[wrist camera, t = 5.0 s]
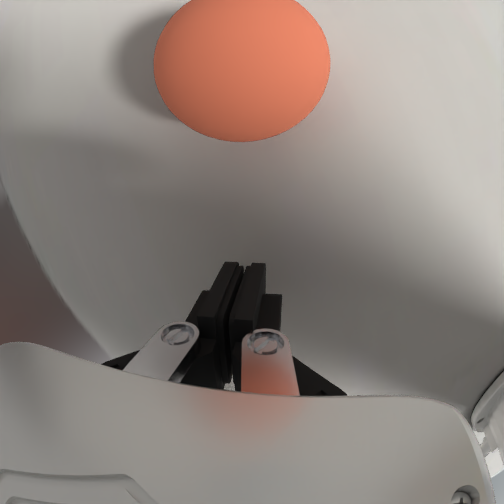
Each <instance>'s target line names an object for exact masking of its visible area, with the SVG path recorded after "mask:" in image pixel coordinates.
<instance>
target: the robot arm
mask: <svg viewBox="0 0 504 504" xmlns="http://www.w3.org/2000/svg"><path fill="white" fill-rule="evenodd" d="M265 289H266V265H265V263H252V264H251V266H247V267H246V270H245V272H244V268H243V266H239V263H238V262H224V264H223V266H222V268H221V270H220V272H219V274H218V276H217V277H216V279H215V281H214V283H213V285H212V287H211V289H210V291H208V290H203V291H202V293H201V294H200V296H199V298H198V300H197V301H196V303H195V305H194V307H193V309H192V310H191V312H190V314H189V316H188V317H187V319H186V321H185V322H183V321H178V322H172V323H168V324H166V325H164V326H163V327H161V328H160V329H159V330H158V331H157V332H156V333H155V334H154V336H153V337H152V338H151V339H150V340H149V341H148V342H147V343H146V344H145V346H144V347H143V348H142V349H141V350H138V351H136V352H133V353H130V354H127V355H124V356H121V357H118V358H116V359H113V360H110V361H107V362H105V363H103V364H98V363H94V362H91V361H88V360H84V359H81V358H78V357H75V356H72V355H69V354H66V353H63V352H60V351H57V350H54V349H51V348H48V347H45V346H41V345H37V344H33V343H26V342H13V343H12V342H11V343H6V344H3V345H1V346H0V504H496V501H495V496H494V491H493V486H492V482H491V478H490V474H489V470H488V467H487V464H486V461H485V457H486V456H487V455H488V454H489V452H490V451H491V452H492V453H493V452H495V451H498V450H499V453H500V455H501V458H502V461H503V464H504V371H503V372H502V373H501V375H500V376H499V377H498V378H497V379H496V380H495V381H494V382H493V384H492V385H491V386H490V387H489V388H488V390H487V391H486V392H485V394H484V395H483V396H482V397H481V399H480V401H479V402H478V404H477V405H476V407H475V409H474V411H473V413H472V416H471V424H472V426H473V428H474V430H475V431H477V432H484V433H485V437H484V439H483V443H482V444H480V445H479V442H478V440H477V438H476V436H475V434H474V432H473V430H472V428H471V426H470V424H469V423H468V421H467V420H466V418H465V417H464V416H463V415H462V413H461V412H459V411H458V410H457V409H456V408H455V407H453V406H451V405H450V404H447V403H445V402H442V401H439V400H435V399H430V398H425V397H420V396H408V395H362V396H361V395H357V396H347V394H346V393H345V392H343V391H342V390H341V389H340V388H338V387H337V386H335V385H334V384H332V383H331V382H329V381H328V380H326V379H325V378H323V377H322V376H320V375H319V374H317V373H316V372H315V371H313V370H312V369H310V368H309V367H307V366H306V365H304V364H303V363H302V362H300V361H299V360H297V359H296V358H295V357H293V356H292V353H291V348H290V343H289V340H288V338H287V336H285V335H284V334H283V333H282V332H280V325H281V307H282V295H279V294H265ZM232 374H233V382H234V384H235V391H231V390H223V389H224V386H225V383H230V382H231V378H232Z"/></svg>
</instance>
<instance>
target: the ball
mask: <svg viewBox="0 0 504 504" xmlns="http://www.w3.org/2000/svg"><path fill="white" fill-rule="evenodd" d="M329 72H330V54H329V48H328V44H327V41H326V38H325V35H324V33H323V31H322V29H321V27H320V26H319V24H318V23H317V21H316V20H315V19H314V17H313V16H312V15H311V14H310V13H309V12H308V11H307V10H306V9H305V8H304V7H303V6H301V5H300V4H299V3H298V2H296V1H294V0H191V1H189V2H188V3H186V4H185V5H184V6H183V7H181V8H180V9H179V10H178V11H177V12H176V13H175V14H174V15H173V16H172V17H171V19H170V20H169V21H168V23H167V24H166V26H165V27H164V29H163V31H162V33H161V35H160V37H159V39H158V42H157V45H156V49H155V54H154V76H155V82H156V85H157V88H158V91H159V93H160V95H161V97H162V99H163V101H164V103H165V104H166V105H167V107H168V108H169V110H170V111H171V112H172V113H173V114H174V115H175V116H176V117H177V118H178V119H179V120H180V121H182V122H183V123H184V124H185V125H187V126H188V127H190V128H192V129H193V130H195V131H197V132H199V133H201V134H204V135H206V136H209V137H212V138H216V139H219V140H225V141H232V142H248V141H257V140H262V139H266V138H269V137H273V136H276V135H278V134H280V133H282V132H285V131H287V130H288V129H290V128H292V127H293V126H295V125H297V124H298V123H299V122H300V121H302V120H303V119H304V118H305V117H306V116H307V115H308V114H309V113H310V112H311V111H312V110H313V109H314V107H315V106H316V105H317V103H318V102H319V100H320V98H321V97H322V95H323V93H324V90H325V88H326V85H327V82H328V77H329Z"/></svg>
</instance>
